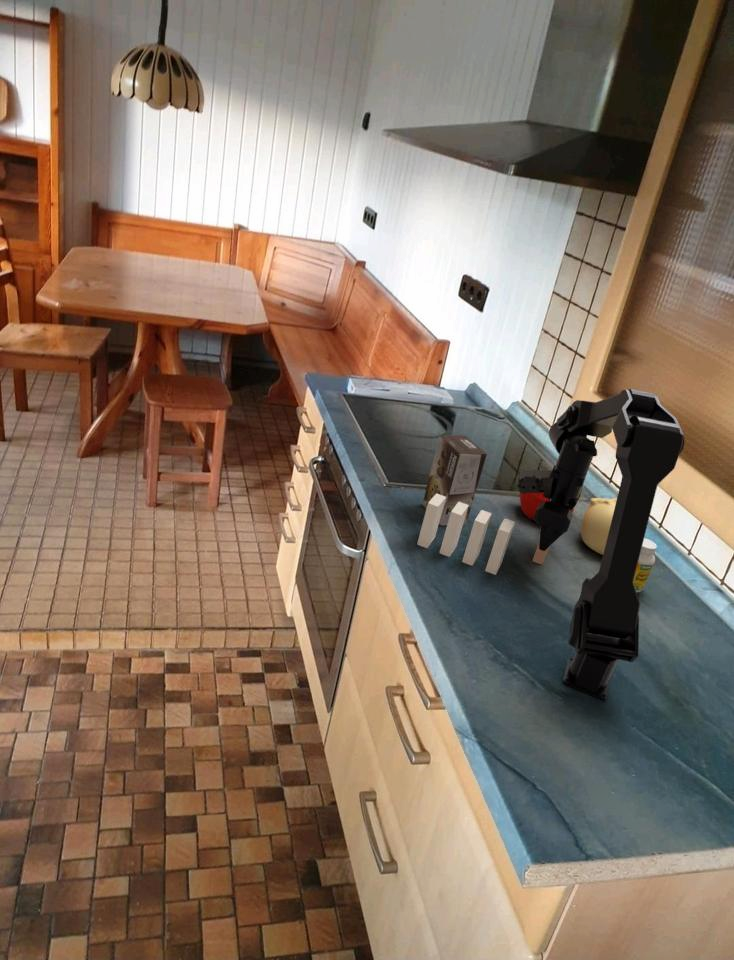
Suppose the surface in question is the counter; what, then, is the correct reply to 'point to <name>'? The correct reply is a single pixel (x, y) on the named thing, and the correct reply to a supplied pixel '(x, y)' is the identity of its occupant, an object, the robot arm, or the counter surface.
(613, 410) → the robot arm
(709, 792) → the counter surface
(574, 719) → the counter surface
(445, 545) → the domino
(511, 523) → the domino
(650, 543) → the supplement bottle
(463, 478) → the coffee box
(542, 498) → the tomato
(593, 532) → the pale yellow round lump
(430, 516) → the domino
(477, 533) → the domino
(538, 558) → the domino
